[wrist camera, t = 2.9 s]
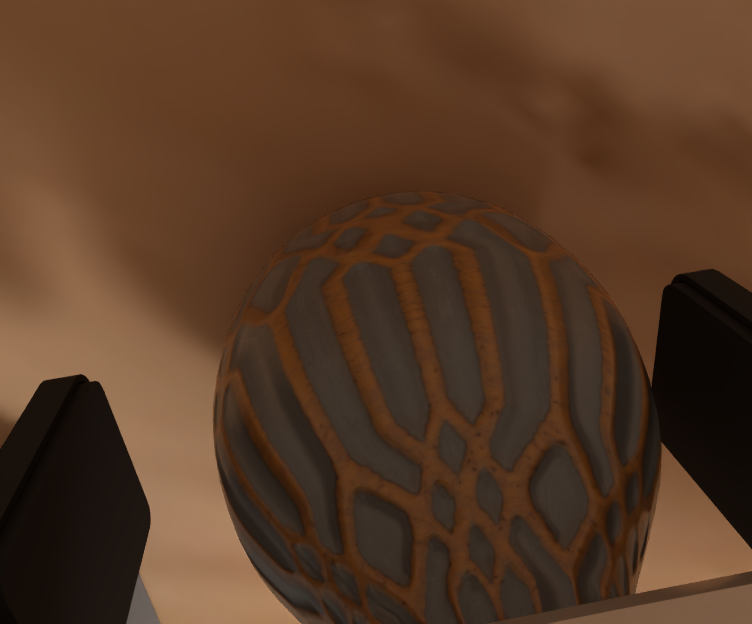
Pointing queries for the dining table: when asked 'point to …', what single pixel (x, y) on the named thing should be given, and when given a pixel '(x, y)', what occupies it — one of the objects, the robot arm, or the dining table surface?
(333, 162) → the dining table surface
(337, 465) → the vase
